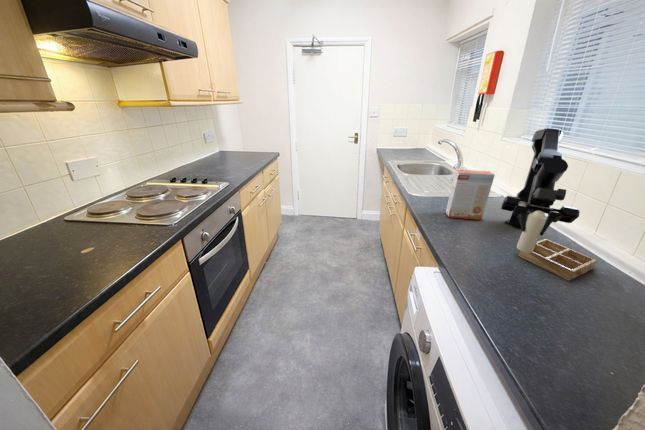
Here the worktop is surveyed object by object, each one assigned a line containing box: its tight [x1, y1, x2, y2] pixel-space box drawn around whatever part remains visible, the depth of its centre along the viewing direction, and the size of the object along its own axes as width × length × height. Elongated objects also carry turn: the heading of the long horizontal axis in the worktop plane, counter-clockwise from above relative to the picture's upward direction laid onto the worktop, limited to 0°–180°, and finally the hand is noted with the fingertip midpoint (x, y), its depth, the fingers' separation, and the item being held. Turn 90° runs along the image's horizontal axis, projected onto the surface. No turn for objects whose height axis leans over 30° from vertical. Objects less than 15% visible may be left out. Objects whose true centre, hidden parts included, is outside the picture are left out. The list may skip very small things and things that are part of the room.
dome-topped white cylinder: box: [516, 211, 547, 253], centre depth 83 cm, size 4×4×14 cm
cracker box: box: [445, 168, 496, 221], centre depth 115 cm, size 14×6×21 cm, turn 80°
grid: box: [517, 238, 598, 282], centre depth 88 cm, size 15×15×3 cm
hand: (532, 233), depth 82 cm, fingers closed on dome-topped white cylinder, 4 cm apart
